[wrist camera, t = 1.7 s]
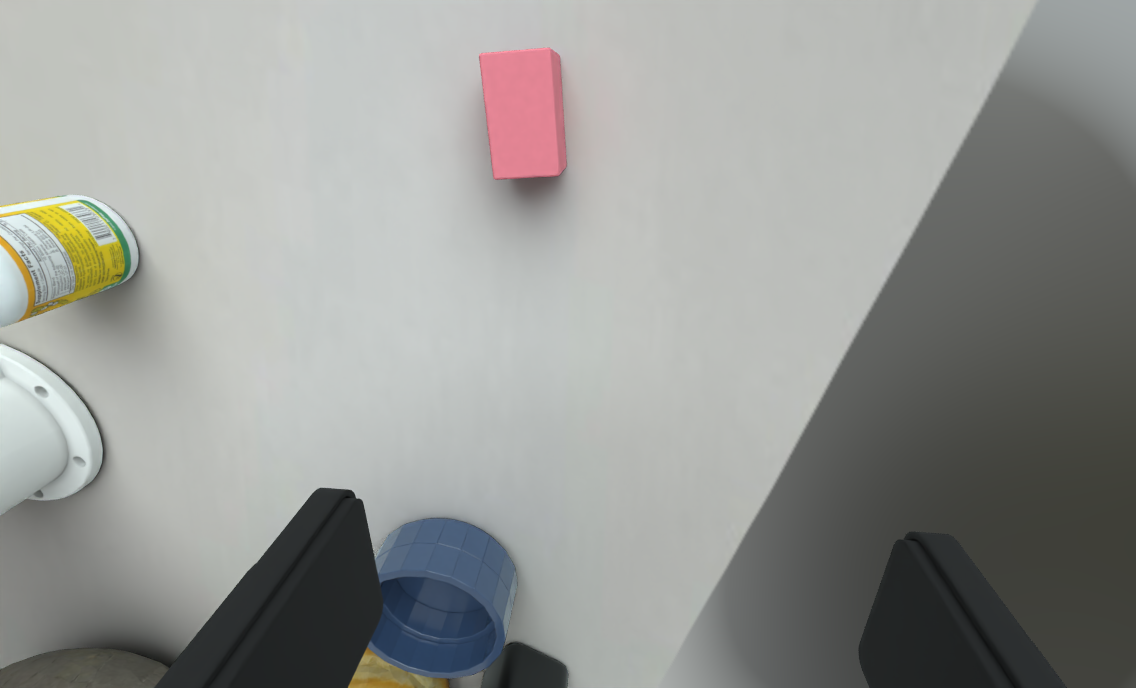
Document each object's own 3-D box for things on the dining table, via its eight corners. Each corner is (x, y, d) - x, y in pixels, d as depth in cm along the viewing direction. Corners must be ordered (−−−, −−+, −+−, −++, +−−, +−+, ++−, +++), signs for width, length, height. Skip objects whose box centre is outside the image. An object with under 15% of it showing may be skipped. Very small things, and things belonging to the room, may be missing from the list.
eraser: (496, 59, 25) (478, 53, 22) (560, 54, 24) (550, 47, 21) (508, 170, 27) (493, 179, 24) (567, 167, 26) (559, 176, 23)
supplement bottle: (137, 206, 29) (-66, 250, 21) (147, 294, 32) (-31, 367, 23) (42, 182, 29) (-202, 216, 21) (59, 272, 32) (-154, 337, 23)
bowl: (368, 511, 37) (334, 568, 33) (510, 513, 36) (494, 572, 32) (397, 612, 42) (369, 675, 37) (524, 617, 40) (512, 682, 36)
